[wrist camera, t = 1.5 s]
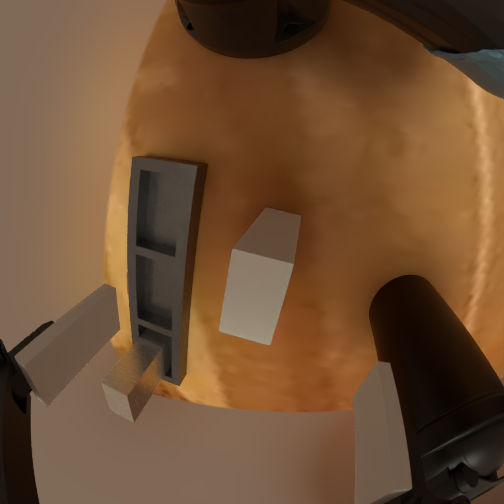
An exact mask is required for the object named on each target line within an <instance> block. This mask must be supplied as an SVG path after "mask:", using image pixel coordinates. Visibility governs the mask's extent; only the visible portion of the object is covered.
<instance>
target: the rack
mask: <svg viewBox="0 0 504 504" xmlns="http://www.w3.org/2000/svg"><path fill="white" fill-rule="evenodd" d="M206 171H207V164H202V163H196V162H189V161H183V160H176V159H169V158H161V157H154V156H136V157H132V167H131V177H130V190H129V206H128V234H127V264H128V272H127V291H128V294H129V308H130V321H131V331H132V341H133V345H132V346H131V347H130V349H129V350H128V351H127V352H126V353H125V354H124V356H123V357H122V358H121V359H120V360H119V361H118V363H117V364H116V365H115V366H114V367H113V368H112V370H111V371H110V372H109V373H108V374H107V375H106V377H105V378H104V379H103V380H102V382H101V384H102V387H103V391H104V393H105V396H106V399H107V402H108V405H109V407H110V410H111V411H113V412H115V413H116V414H118V415H120V416H122V417H124V418H126V419H128V420H130V421H132V422H134V423H135V421H136V419H137V418H138V416H139V415H140V413H141V412H142V410H143V408H144V407H145V405H146V404H147V402H148V401H149V399H150V398H151V396H152V394H153V393H154V391H155V390H156V388H157V387H158V385H159V384H160V382H161V380H162V379H163V380H165V381H168V382H170V383H173V384H175V385H178V386H180V384H181V383H182V381H183V379H184V377H185V376H186V365H187V346H188V330H189V316H190V303H191V291H192V281H193V271H194V261H195V252H196V243H197V235H198V227H199V219H200V211H201V204H202V197H203V190H204V183H205V177H206Z"/></svg>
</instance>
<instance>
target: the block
mask: <svg viewBox="0 0 504 504" xmlns="http://www.w3.org/2000/svg"><path fill="white" fill-rule="evenodd" d="M300 221H301V216H300V215H296V214H292V213H288V212H284V211H280V210H276V209H272V208H268V207H266V208H265V209H264V210H263V211H262V212H261V214H260V215H259V216H258V217H257V219H256V220H255V221H254V222H253V224H252V225H251V226H250V227H249V228H248V230H247V231H246V232H245V233H244V235H243V236H242V237H241V238H240V240H239V241H238V242H237V243H236V245H235V246H234V247H233V248H232V253H231V259H230V265H229V271H228V277H227V283H226V289H225V295H224V301H223V308H222V314H221V320H220V327H219V331H220V332H223V333H227V334H230V335H233V336H237V337H240V338H244V339H247V340H251V341H254V342H258V343H262V344H266V345H270V344H271V341H272V337H273V334H274V331H275V328H276V324H277V321H278V318H279V315H280V311H281V308H282V304H283V301H284V298H285V294H286V291H287V287H288V284H289V280H290V277H291V273H292V269H293V266H294V261H295V254H296V248H297V241H298V234H299V228H300Z"/></svg>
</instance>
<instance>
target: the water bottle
mask: <svg viewBox="0 0 504 504" xmlns="http://www.w3.org/2000/svg"><path fill="white" fill-rule="evenodd" d="M369 318H370V323H371V327H372V332H373V336H374V341H375V346H376V351H377V356H378V361H380V362H386V363H390V365H391V369H392V373H393V377H394V381H395V385H396V390H397V394H398V399H399V403H400V408H401V413H402V418H403V424H404V429H413V430H414V431H415V433H416V435H417V436H418V438H419V444H420V450H421V455H422V456H421V458H422V462H423V468H424V476H425V484H426V489H427V490H428V491H431V492H432V493H433V494H434V495H435V498H440V499H447V500H452V499H454V498H456V497H458V496H460V495H465V496H466V497H468V498H469V500H470V502H471V501H473V500H475V499H476V498H478V497H480V496H482V495H483V494H485V493H487V492H488V491H490V490H491V489H493V488H495V487H496V486H498V485H499V484H501V483H502V482H504V476H503V477H501V478H498V476H497V471H498V470H499V469H500V467H502V465H503V464H504V386H503V384H502V382H501V381H500V379H499V377H498V376H497V374H496V372H495V371H494V369H493V368H492V366H491V364H490V363H489V361H488V360H487V358H486V357H485V355H484V354H483V352H482V351H481V349H480V348H479V346H478V345H477V343H476V342H475V340H474V339H473V338H472V336H471V335H470V333H469V332H468V331H467V329H466V328H465V326H464V325H463V324H462V322H461V321H460V320H459V318H458V317H457V316H456V315H455V313H454V312H453V311H452V309H451V308H450V307H449V306H448V304H447V303H446V302H445V301H444V299H443V298H442V297H441V296H440V294H439V293H438V292H437V291H436V290H435V288H434V287H433V286H432V285H431V284H430V283H429V282H428V281H427V280H426V279H424V278H423V277H420V276H416V275H405V276H401V277H398V278H395V279H393V280H391V281H390V282H388V283H387V284H386V285H384V286H383V287H382V288H381V289H380V290H379V291H378V293H377V294H376V295H375V297H374V299H373V301H372V303H371V306H370V311H369Z"/></svg>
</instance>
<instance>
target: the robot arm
mask: <svg viewBox="0 0 504 504" xmlns="http://www.w3.org/2000/svg"><path fill="white" fill-rule="evenodd" d="M343 1H346V2H348V3H350V4H353V5H355V6H357V7H359V8H361V9H364V10H366V11H368V12H370V13H372V14H374V15H376V16H378V17H380V18H381V19H383V20H385V21H387V22H389V23H391V24H392V25H394V26H396V27H397V28H399V29H401V30H403V31H404V32H406V33H407V34H409V35H411V36H412V37H414V38H415V39H417V40H418V41H420V42H421V43H423V47H424V48H425V49H427V50H428V51H429V52H430V53H432V54H434V55H435V56H437V57H440V58H444V59H445V60H447V61H448V62H449V63H451V64H452V65H453V66H455V67H456V68H457V69H459V70H460V71H461V72H463V73H464V74H465V75H466V76H468V77H469V78H470V79H471V80H472V81H474V82H475V83H476V84H477V85H478V86H480V87H481V88H482V89H484V90H486V91H487V92H489V93H491V94H493V95H495V96H497V97H500V98H503V99H504V0H343ZM175 3H176V6H177V10H178V13H179V16H180V19H181V22H182V24H183V26H184V27H185V29H186V30H187V32H188V33H189V34H190V35H191V36H192V37H193V38H194V39H196V40H197V41H198V42H199V43H200V44H202V45H203V46H204V47H206V48H208V49H209V50H211V51H214V52H216V53H219V54H222V55H225V56H230V57H236V58H262V57H269V56H274V55H278V54H281V53H284V52H287V51H290V50H292V49H295V48H297V47H299V46H301V45H302V44H304V43H306V42H307V41H309V40H310V39H311V38H312V37H314V36H315V35H316V34H317V33H318V32H319V31H320V30H321V28H322V27H323V25H324V24H325V22H326V20H327V18H328V15H329V10H330V0H175ZM119 330H120V323H119V315H118V306H117V296H116V288H114V287H112V286H110V285H107V284H104V285H102V286H101V287H100V288H98V289H97V290H96V291H94V292H93V293H92V294H90V295H89V296H88V297H86V298H85V299H84V300H83V301H81V302H80V303H78V304H77V305H76V306H75V307H73V308H72V309H71V310H70V311H68V312H67V313H66V314H64V315H63V316H62V317H61V318H60V319H58V320H57V321H56V322H53V321H50V322H47V323H45V324H42V325H41V326H40V327H39V328H37V329H36V330H35V332H32V333H31V334H30V336H28V337H26V338H25V339H24V340H23V341H22V342H20V343H19V344H18V345H17V346H16V347H14V348H13V349H12V350H11V351H10V352H8V353H7V351H6V349H5V346H4V344H3V342H2V340H1V339H0V504H39V499H38V494H37V488H36V482H35V476H34V468H33V459H32V447H31V421H30V420H31V418H30V417H31V412H30V411H31V396H30V392H31V391H33V392H34V394H35V396H36V397H37V398H38V399H39V400H40V401H41V402H42V403H43V404H45V405H46V406H47V407H48V406H49V405H50V404H51V402H52V401H53V400H54V399H55V398H56V397H57V396H58V394H59V393H60V392H61V391H62V390H63V389H64V388H65V387H66V385H68V384H69V382H70V381H71V380H72V379H73V378H74V377H75V376H76V375H77V374H78V373H79V372H80V371H81V369H82V368H83V367H84V366H85V365H86V364H87V363H88V362H89V361H90V360H91V359H92V358H93V357H94V356H95V354H97V353H98V351H99V350H100V349H101V348H102V347H103V346H104V345H105V344H106V343H107V342H108V341H109V340H110V339H111V338H112V337H113V336H114V335H115V334H116V333H117V332H118V331H119ZM353 405H354V422H355V460H356V462H355V504H471V502H470V500H469V498H468V497H466V496H465V495H460V496H458V497H456V498H454V499H452V500H447V499H440V498H435V495H434V494H433V493H432V492H431V491H428V490H427V489H426V484H425V476H424V468H423V462H422V458H421V456H422V455H421V450H420V444H419V438H418V436H417V435H416V433H415V431H414V430H413V429H404V424H403V418H402V413H401V408H400V403H399V399H398V394H397V390H396V385H395V381H394V377H393V373H392V369H391V365H390V363H386V362H380V361H376V362H375V364H374V366H373V367H372V369H371V370H370V372H369V374H368V375H367V377H366V378H365V380H364V381H363V383H362V384H361V386H360V387H359V389H358V390H357V392H356V393H355V395H354V396H353Z"/></svg>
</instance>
